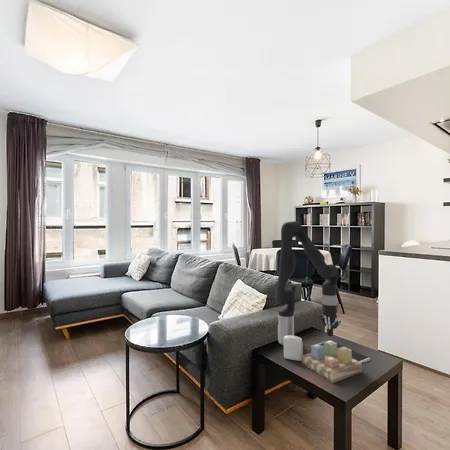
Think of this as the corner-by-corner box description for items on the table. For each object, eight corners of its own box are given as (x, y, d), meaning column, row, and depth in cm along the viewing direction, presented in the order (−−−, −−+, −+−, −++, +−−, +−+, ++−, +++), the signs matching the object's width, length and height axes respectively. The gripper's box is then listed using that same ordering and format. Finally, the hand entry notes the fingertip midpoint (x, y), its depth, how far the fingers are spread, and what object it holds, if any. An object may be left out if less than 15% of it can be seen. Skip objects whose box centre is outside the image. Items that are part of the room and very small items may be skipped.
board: (302, 364, 149) (302, 355, 149) (330, 355, 158) (329, 347, 158) (332, 383, 131) (332, 373, 131) (361, 372, 140) (361, 362, 140)
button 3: (324, 370, 140) (324, 357, 139) (331, 368, 142) (331, 355, 142) (332, 375, 135) (331, 361, 135) (338, 372, 138) (338, 359, 137)
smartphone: (354, 367, 146) (354, 364, 146) (314, 347, 169) (314, 344, 169) (371, 361, 152) (371, 358, 152) (330, 342, 176) (330, 339, 176)
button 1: (311, 357, 148) (311, 344, 147) (317, 355, 150) (317, 343, 150) (317, 360, 143) (317, 348, 143) (324, 358, 146) (324, 346, 145)
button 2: (323, 353, 152) (323, 341, 152) (330, 351, 154) (330, 339, 154) (330, 356, 148) (330, 344, 147) (337, 354, 150) (336, 342, 150)
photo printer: (283, 358, 155) (282, 336, 155) (284, 355, 159) (284, 333, 159) (302, 362, 151) (302, 338, 151) (303, 358, 155) (303, 335, 155)
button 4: (337, 360, 144) (337, 347, 144) (344, 358, 146) (343, 345, 146) (345, 364, 139) (345, 351, 139) (351, 362, 142) (351, 349, 142)
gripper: (314, 300, 155) (315, 333, 155) (334, 306, 143) (335, 341, 143) (325, 299, 158) (325, 330, 158) (344, 304, 146) (345, 338, 146)
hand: (330, 335), depth 150 cm, fingers closed
